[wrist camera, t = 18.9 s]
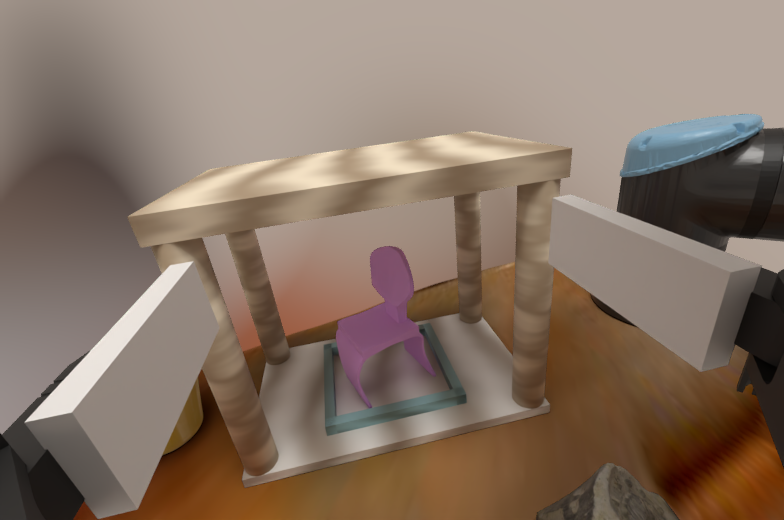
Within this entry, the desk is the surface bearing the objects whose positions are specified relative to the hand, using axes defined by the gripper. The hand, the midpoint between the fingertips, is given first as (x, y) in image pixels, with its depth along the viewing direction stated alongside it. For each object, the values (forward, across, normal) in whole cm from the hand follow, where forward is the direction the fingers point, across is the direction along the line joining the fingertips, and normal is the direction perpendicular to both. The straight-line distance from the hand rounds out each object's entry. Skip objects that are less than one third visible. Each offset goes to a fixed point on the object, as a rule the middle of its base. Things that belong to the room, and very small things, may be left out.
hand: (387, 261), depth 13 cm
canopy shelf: (+20, 0, -24) cm, 32 cm away
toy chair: (+20, 0, -24) cm, 31 cm away
